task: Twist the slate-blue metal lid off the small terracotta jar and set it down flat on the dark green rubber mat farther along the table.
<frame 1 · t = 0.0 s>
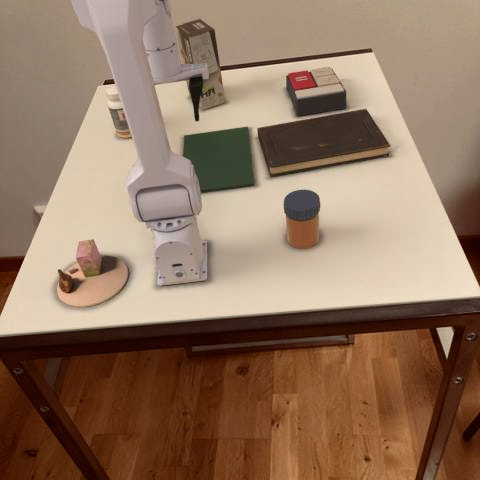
hand: (177, 121, 95), 10 cm above the table, tool pointing down, fingers open, 7 cm apart
coffee box: (207, 100, 123), on the table
pill bottle: (129, 133, 116), on the table
hardcover book: (320, 146, 102), on the table
lid: (301, 201, 79), point 7 cm above the table, screwed on, not yet turned
dessert plate: (93, 281, 83), on the table
grey box: (315, 98, 116), on the table
mat: (217, 160, 103), on the table
jar: (303, 238, 84), on the table
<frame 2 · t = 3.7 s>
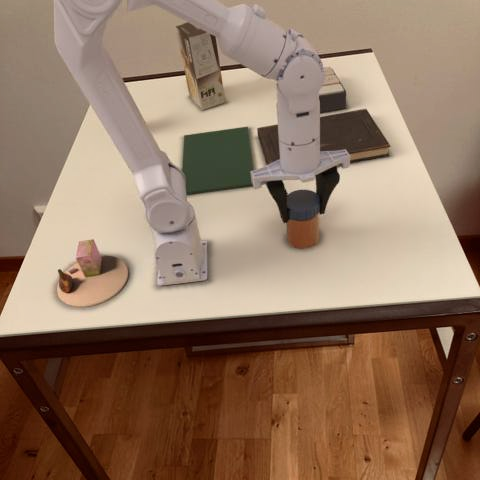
hand: (302, 215, 80), 5 cm above the table, tool pointing down, fingers closed on lid, 5 cm apart
lid: (301, 201, 79), point 7 cm above the table, screwed on, not yet turned, touching gripper
everything else where it was.
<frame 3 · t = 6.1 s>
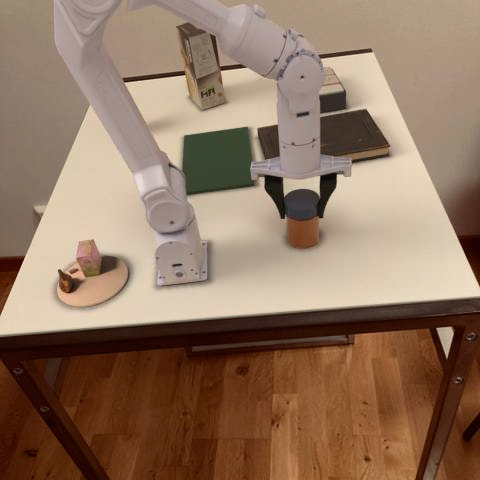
hand: (302, 215, 80), 5 cm above the table, tool pointing down, fingers closed on lid, 5 cm apart
lid: (301, 201, 78), point 7 cm above the table, off its thread, touching gripper
jar: (303, 238, 84), on the table, touching gripper
everything else where it was.
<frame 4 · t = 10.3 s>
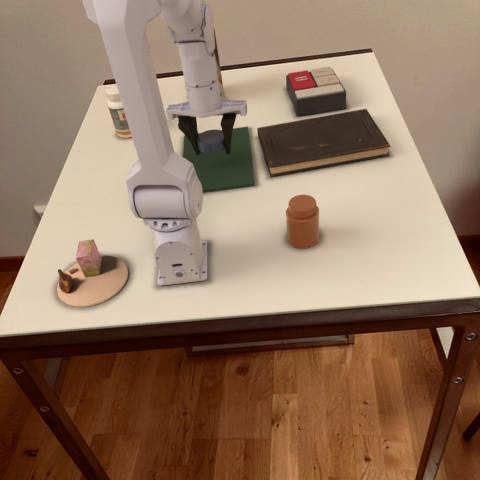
hand: (214, 151, 98), 4 cm above the table, tool pointing down, fingers closed on lid, 5 cm apart
lid: (211, 138, 96), point 7 cm above the table, off its thread, touching gripper
jar: (303, 238, 84), on the table
everything else where it was.
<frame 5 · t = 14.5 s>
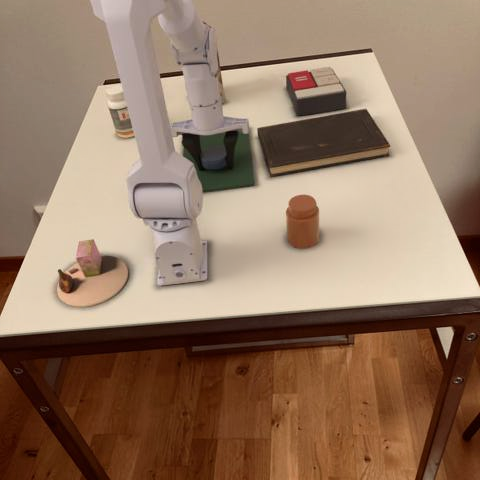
hand: (216, 167, 100), 1 cm above the table, tool pointing down, fingers closed on lid, 5 cm apart
lid: (214, 155, 98), point 3 cm above the table, off its thread, touching gripper
everything else where it was.
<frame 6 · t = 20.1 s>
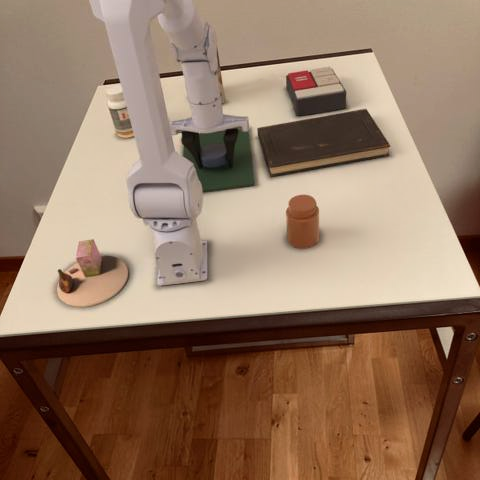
hand: (216, 165, 100), 1 cm above the table, tool pointing down, fingers closed on lid, 5 cm apart
lid: (214, 153, 98), point 4 cm above the table, off its thread, touching gripper
everything else where it was.
when the fingers open (2 cm above the table, at t = 25.4 s): lid drops 3 cm, resting on mat.
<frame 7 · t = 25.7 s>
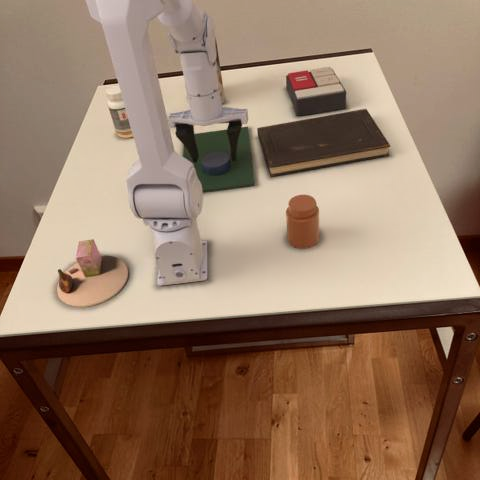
hand: (215, 158, 99), 3 cm above the table, tool pointing down, fingers open, 7 cm apart
lid: (215, 161, 99), point 2 cm above the table, off its thread, touching mat
everything else where it was.
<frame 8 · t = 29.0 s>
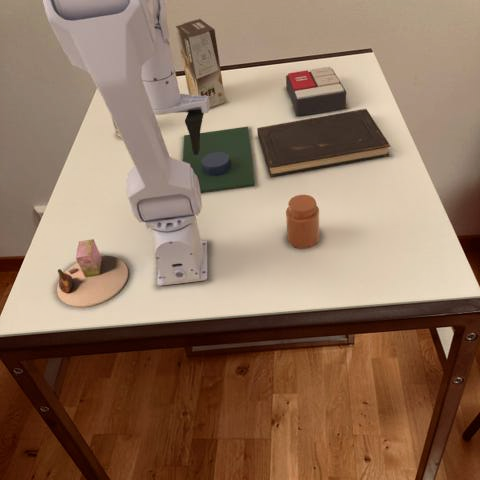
hand: (175, 152, 89), 9 cm above the table, tool pointing down, fingers open, 7 cm apart
nothing on the table moved.
at the end: lid came off its thread; lid inside the target area on the mat (4.0 cm from its centre), point 2.1 cm above the mat's base; the gripper is holding nothing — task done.
